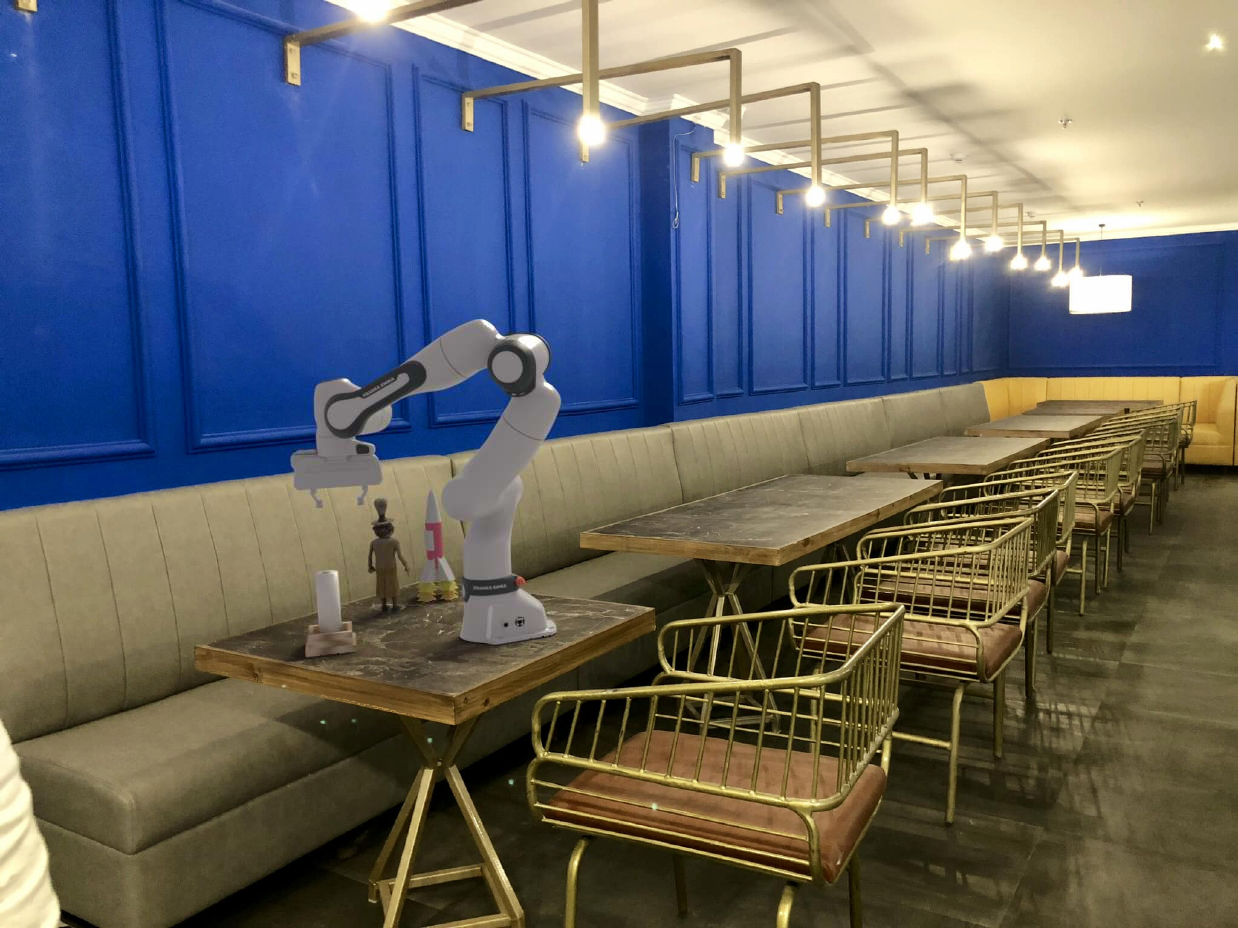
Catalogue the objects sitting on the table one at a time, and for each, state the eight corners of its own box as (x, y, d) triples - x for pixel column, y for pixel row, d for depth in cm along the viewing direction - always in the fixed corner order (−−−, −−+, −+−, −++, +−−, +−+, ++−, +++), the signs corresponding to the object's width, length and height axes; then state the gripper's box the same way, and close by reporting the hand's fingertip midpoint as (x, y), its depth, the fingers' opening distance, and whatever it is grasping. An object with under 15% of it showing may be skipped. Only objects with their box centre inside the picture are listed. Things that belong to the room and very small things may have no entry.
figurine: (417, 605, 263) (411, 494, 260) (405, 615, 254) (398, 499, 251) (377, 606, 265) (370, 494, 261) (364, 615, 255) (356, 500, 252)
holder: (355, 638, 233) (354, 620, 233) (356, 651, 223) (355, 631, 222) (307, 644, 230) (305, 625, 230) (305, 657, 220) (304, 637, 219)
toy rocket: (435, 590, 280) (429, 485, 277) (468, 594, 274) (462, 487, 271) (406, 600, 270) (399, 491, 267) (439, 604, 264) (433, 492, 261)
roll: (342, 637, 229) (338, 568, 228) (342, 642, 224) (338, 572, 223) (320, 639, 228) (315, 570, 226) (319, 645, 223) (314, 574, 221)
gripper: (289, 451, 226) (293, 511, 228) (380, 446, 232) (384, 504, 233) (290, 449, 233) (294, 507, 234) (379, 444, 238) (383, 501, 239)
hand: (340, 506), depth 234 cm, fingers open, 8 cm apart
